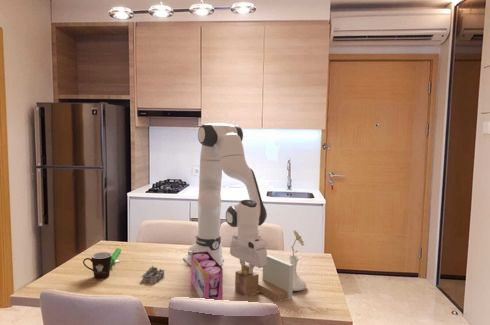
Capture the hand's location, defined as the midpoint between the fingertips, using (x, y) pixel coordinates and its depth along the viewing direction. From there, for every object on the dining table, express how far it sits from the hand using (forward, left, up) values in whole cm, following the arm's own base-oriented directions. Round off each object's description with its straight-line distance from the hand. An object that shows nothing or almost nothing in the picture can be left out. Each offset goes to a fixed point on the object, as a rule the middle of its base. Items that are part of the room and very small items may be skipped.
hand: (247, 271), depth 157 cm
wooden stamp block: (0, 0, -9) cm, 9 cm away
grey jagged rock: (-35, -25, -9) cm, 44 cm away
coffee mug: (-52, -44, -9) cm, 69 cm away
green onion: (-66, -32, -9) cm, 74 cm away
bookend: (+8, +7, -9) cm, 14 cm away
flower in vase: (+9, +19, -9) cm, 23 cm away
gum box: (-10, -14, -9) cm, 19 cm away
